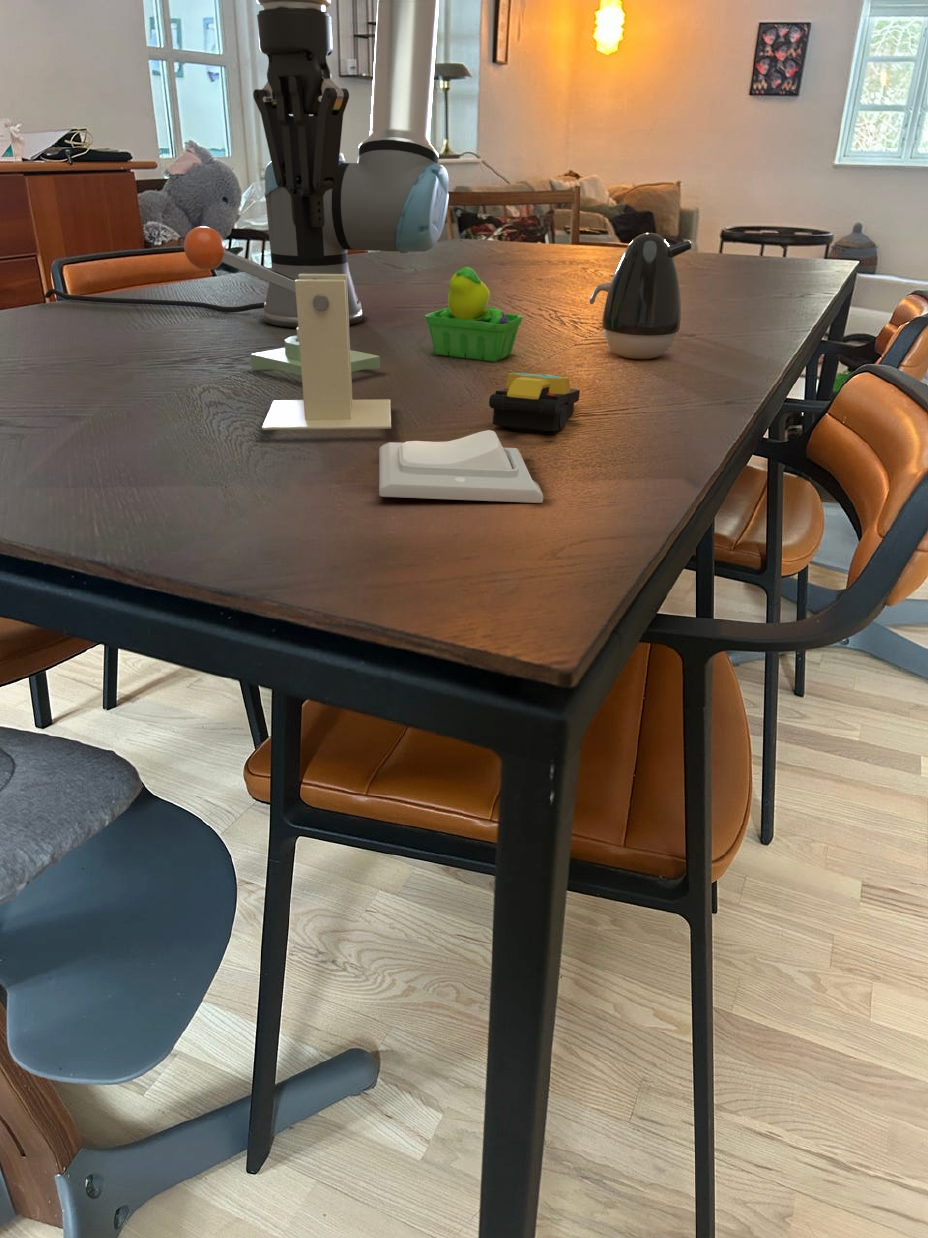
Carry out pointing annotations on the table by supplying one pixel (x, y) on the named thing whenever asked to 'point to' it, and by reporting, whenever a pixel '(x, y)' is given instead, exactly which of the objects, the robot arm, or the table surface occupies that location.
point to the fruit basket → (472, 322)
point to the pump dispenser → (644, 299)
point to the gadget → (534, 402)
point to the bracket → (325, 364)
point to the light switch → (456, 470)
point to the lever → (227, 257)
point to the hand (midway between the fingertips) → (311, 257)
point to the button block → (291, 360)
